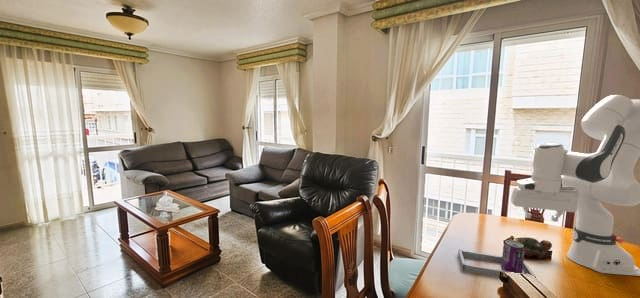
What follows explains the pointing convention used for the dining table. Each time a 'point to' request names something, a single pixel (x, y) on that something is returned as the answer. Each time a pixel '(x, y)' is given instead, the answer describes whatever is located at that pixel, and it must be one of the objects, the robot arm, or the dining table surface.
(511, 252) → the beverage can
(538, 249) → the clay ocarina
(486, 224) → the dining table surface
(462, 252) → the frame
